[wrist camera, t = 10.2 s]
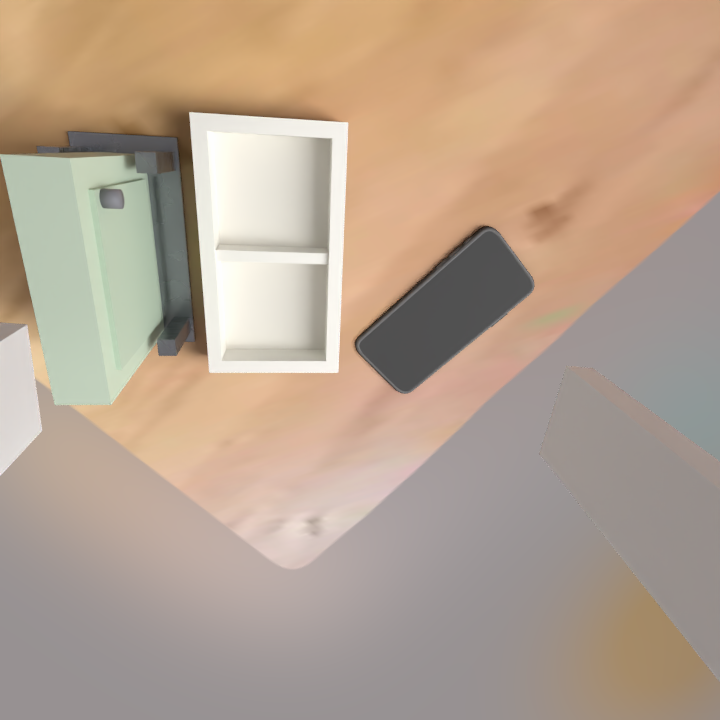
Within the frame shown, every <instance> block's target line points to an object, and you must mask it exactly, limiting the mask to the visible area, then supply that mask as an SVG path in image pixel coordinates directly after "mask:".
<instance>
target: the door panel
mask: <svg viewBox="0 0 720 720" xmlns="http://www.w3.org/2000/svg"><path fill="white" fill-rule="evenodd" d="M0 158H1V163H2V167H3V172H4V177H5V181H6V186H7V190H8V195H9V199H10V204H11V208H12V213H13V217H14V222H15V227H16V231H17V236H18V240H19V245H20V249H21V254H22V258H23V263H24V267H25V272H26V277H27V281H28V286H29V290H30V295H31V299H32V304H33V308H34V313H35V317H36V322H37V327H38V331H39V336H40V340H41V345H42V349H43V354H44V358H45V363H46V367H47V372H48V377H49V381H50V386H51V390H52V395H53V399H54V404H55V405H111V404H112V403H113V401H114V400H115V399H116V397H117V396H118V395H119V393H120V392H121V391H122V389H123V388H124V386H125V385H126V384H127V382H128V381H129V380H130V378H131V377H132V376H133V374H134V373H135V371H136V370H137V369H138V367H139V366H140V365H141V363H142V362H143V361H144V359H145V358H146V356H147V355H148V354H149V352H150V351H151V350H152V348H153V347H154V346H155V344H156V343H157V339H158V337H159V336H160V335H161V333H162V332H163V331H164V321H163V312H162V303H161V294H160V285H159V276H158V267H157V258H156V249H155V240H154V231H153V222H152V213H151V204H150V195H149V185H148V176H147V174H146V173H137V171H136V162H135V154H129V153H111V152H71V153H31V154H0Z"/></svg>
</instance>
